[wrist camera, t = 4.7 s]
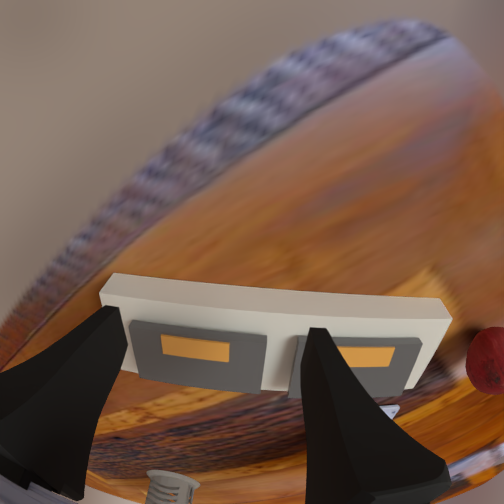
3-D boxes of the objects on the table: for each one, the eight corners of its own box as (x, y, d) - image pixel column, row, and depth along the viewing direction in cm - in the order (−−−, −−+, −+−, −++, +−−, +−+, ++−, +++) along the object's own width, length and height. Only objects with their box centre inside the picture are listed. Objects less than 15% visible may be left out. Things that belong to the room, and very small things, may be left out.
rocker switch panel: (392, 390, 27) (398, 410, 24) (137, 373, 27) (129, 393, 25) (439, 298, 21) (452, 318, 19) (113, 272, 22) (98, 292, 19)
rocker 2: (398, 389, 21) (401, 396, 20) (287, 390, 21) (288, 399, 20) (418, 337, 19) (423, 344, 19) (298, 335, 20) (299, 343, 19)
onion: (443, 347, 24) (474, 414, 17) (484, 301, 21) (528, 364, 14) (472, 360, 25) (500, 418, 18) (508, 319, 22) (546, 375, 15)
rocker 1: (260, 385, 22) (260, 395, 21) (142, 370, 22) (139, 379, 21) (267, 335, 19) (267, 345, 19) (132, 319, 20) (127, 328, 19)
